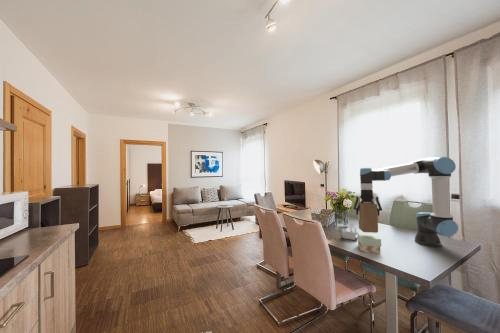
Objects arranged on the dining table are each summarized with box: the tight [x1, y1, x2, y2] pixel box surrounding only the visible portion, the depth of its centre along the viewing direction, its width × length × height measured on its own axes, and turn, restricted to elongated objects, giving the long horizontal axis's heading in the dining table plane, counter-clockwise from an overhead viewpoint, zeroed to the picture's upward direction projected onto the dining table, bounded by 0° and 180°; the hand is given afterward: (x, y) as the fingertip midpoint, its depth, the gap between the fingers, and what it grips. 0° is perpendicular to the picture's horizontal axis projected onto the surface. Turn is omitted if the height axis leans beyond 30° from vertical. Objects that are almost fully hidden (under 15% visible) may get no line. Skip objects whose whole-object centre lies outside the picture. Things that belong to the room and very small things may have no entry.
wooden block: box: [357, 201, 379, 234], centre depth 147 cm, size 10×10×20 cm
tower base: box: [357, 239, 381, 254], centre depth 146 cm, size 12×12×5 cm
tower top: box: [357, 232, 382, 248], centre depth 146 cm, size 12×12×5 cm
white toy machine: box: [340, 223, 359, 242], centre depth 173 cm, size 18×10×12 cm
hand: (367, 219), depth 146 cm, fingers closed on wooden block, 11 cm apart
